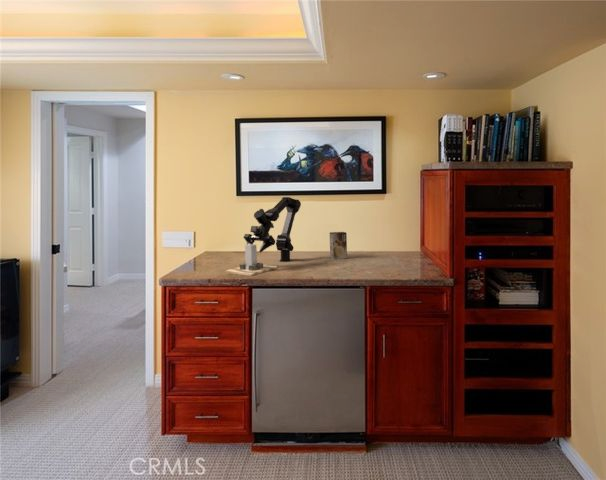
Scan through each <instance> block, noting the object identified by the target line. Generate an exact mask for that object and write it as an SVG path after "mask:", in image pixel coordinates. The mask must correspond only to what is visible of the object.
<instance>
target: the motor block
mask: <svg viewBox="0 0 606 480" xmlns="http://www.w3.org/2000/svg"><path fill="white" fill-rule="evenodd" d="M257 253H258V251H257V244H254V243H253V244H248V245H247V244H245V245H244V256H245V258H244V259H245V263H246V270H249V265H251V266H252V265H256V264H257V263H258V259H257V258H258V256H257V255H258V254H257Z"/></svg>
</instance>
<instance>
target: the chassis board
mask: <svg viewBox="0 0 606 480" xmlns="http://www.w3.org/2000/svg"><path fill="white" fill-rule="evenodd" d="M278 267H279V266H278V265H270V264H269V265H268V264H264V263H263V262H257V264H256V265H252V266H251V265H249V270H246V262H244V263H241V264H239V266H238V267H235V268H229V269H227V270H224V271H223V272H224V273H225V274H231V275H232V274H233V275H242V276H249V277H252V276H255V275H258V274H262V273H265V272H269V271H272V270H276V269H278Z"/></svg>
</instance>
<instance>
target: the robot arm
mask: <svg viewBox="0 0 606 480" xmlns="http://www.w3.org/2000/svg"><path fill="white" fill-rule="evenodd" d="M301 205H302V202H301V201H300V199H295V198H292V197H290V196H289V197H288V196H283V197H281V199H280V200H279V202H277V204H276V205H275V206H273V207H272V208H270V209H268V210H266V211H265V210H264V209H263V208H259V210H256V211H255V212H254V213H253V217H254V219H255V221H257V223H258V224H259V226H258V225H251V226H250V231H249V232H250V233H253V235H252V234H250V233H245V234H244V235H243V239H244V240H245V242H246V245H248V244H253V245H254V243H255V242H257V241H258V242H262V244H261V245H260V248H259V253H260V254H261V253H262V252H263V251H265V250H267V249H268V248H270V247H272V246H274V245H275V246H276V247H275V248H276V250H277V251H280V259H279V262H291V261H292V258H291V252H293V251H294V245H293V244H292V239H291V231H292V228H293V223H294V221H295V216H296V214H297V213H299V211H300V208H301ZM285 209H286V211H287V212H286V216H285V219H284V223H283V226H282V227H283V228H282V230H281V233H280V234H278V235H277V237H276V239H275V238H274V236H272V234H271V235H270V233H269V232H270V231H271V229H274V227H275V226H274V223H273V222H277V221H278V219H279V217H280V214H281V213H282V211H284V210H285Z"/></svg>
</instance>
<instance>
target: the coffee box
mask: <svg viewBox="0 0 606 480" xmlns="http://www.w3.org/2000/svg"><path fill="white" fill-rule="evenodd" d="M347 238H348V237H347V232H345V231H334V232H333V231H332V232H329V258H330V259H332V260H344V259H348V245H347V243H348V242H347Z"/></svg>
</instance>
